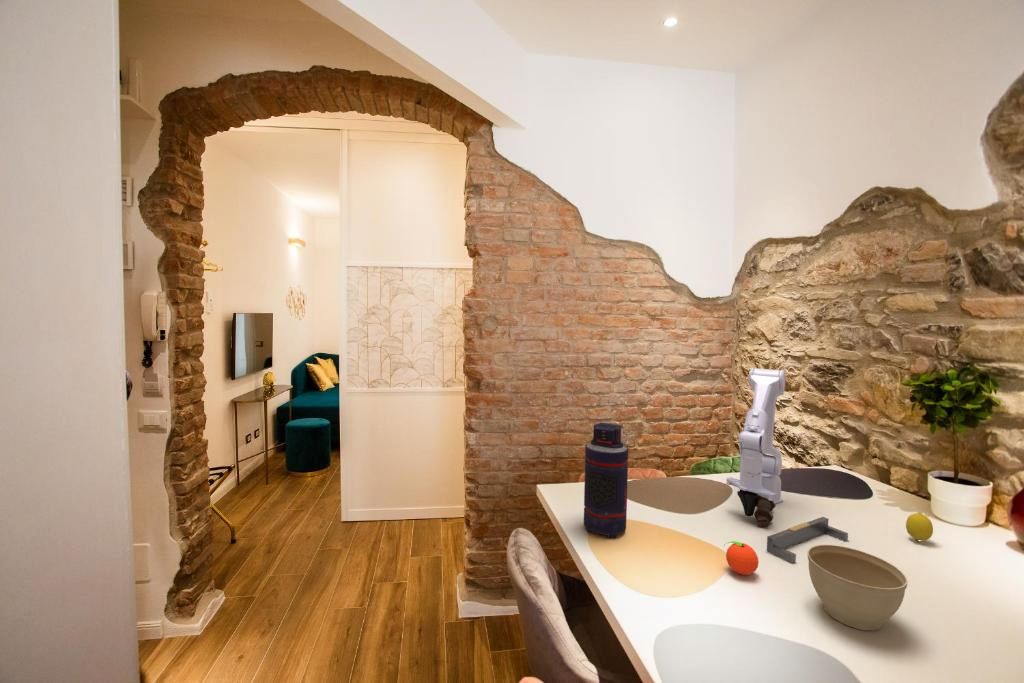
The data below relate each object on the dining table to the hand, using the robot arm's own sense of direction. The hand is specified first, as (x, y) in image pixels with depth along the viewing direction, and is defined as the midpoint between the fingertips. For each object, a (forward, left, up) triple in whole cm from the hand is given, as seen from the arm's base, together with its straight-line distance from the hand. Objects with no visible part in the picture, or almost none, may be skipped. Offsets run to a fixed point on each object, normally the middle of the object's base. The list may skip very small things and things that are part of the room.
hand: (748, 515), depth 136 cm
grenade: (+42, -16, -2) cm, 45 cm away
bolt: (-5, +1, -2) cm, 5 cm away
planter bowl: (+22, +37, -2) cm, 44 cm away
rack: (0, +17, -1) cm, 17 cm away
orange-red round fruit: (+28, +16, -2) cm, 33 cm away
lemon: (-30, +29, -2) cm, 42 cm away
